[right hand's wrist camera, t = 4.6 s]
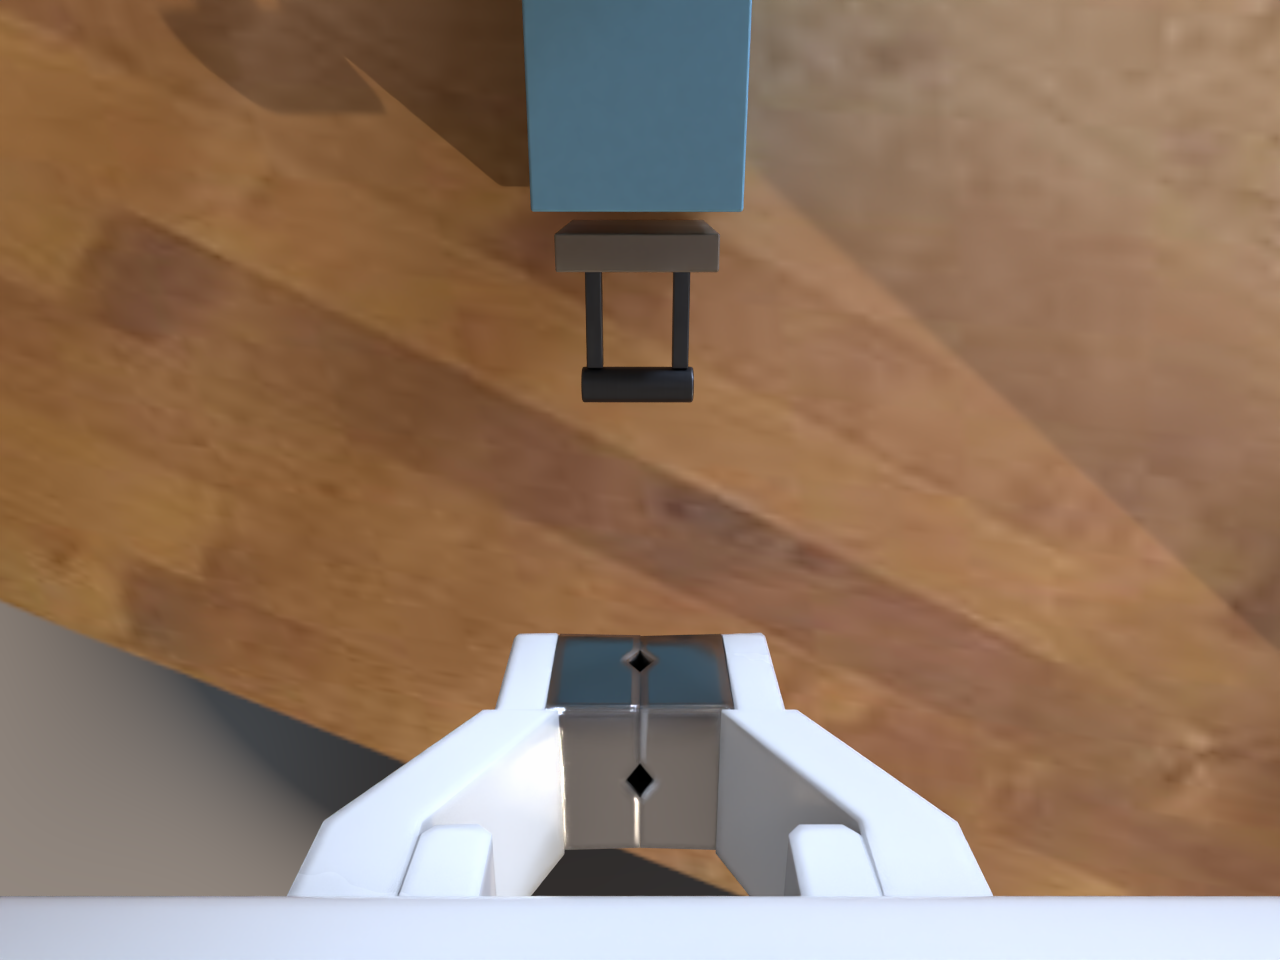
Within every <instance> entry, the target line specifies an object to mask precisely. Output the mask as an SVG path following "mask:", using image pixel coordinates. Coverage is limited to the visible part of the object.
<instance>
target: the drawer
mask: <svg viewBox="0 0 1280 960" xmlns="http://www.w3.org/2000/svg"><path fill="white" fill-rule="evenodd" d="M554 240H555V270H556V272H585V299H586V345H587V367H583V368H582V377H581V389H582V400H583V402H692V401H693V392H694V374H693V368H692V367H688V352H689V304H690V272H718V271H719V250H720V235H719V233H717V232H716V231H715V230H714V229H713V228H712V227H711V226H709V225H708V224H707V223H706V222H705V221H703V220H572V221H571V222H570V223H568V224H567V225H566V226H564V227H563V228H562V229H561V230H559V231H558V232H557V233H556V234H555V235H554ZM602 272H673V312H672V367H603V300H602Z"/></svg>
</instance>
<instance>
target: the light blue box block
mask: <svg viewBox="0 0 1280 960" xmlns="http://www.w3.org/2000/svg"><path fill="white" fill-rule="evenodd" d="M751 8H752V0H522V11H523V35H524V58H525V82H526V105H527V129H528V152H529V176H530V200H531V210H532V211H534V212H741V211H742V210H743V201H744V177H745V153H746V129H747V105H748V80H749V56H750V32H751Z"/></svg>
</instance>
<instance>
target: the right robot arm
mask: <svg viewBox="0 0 1280 960" xmlns="http://www.w3.org/2000/svg"><path fill="white" fill-rule="evenodd" d="M606 848H672V849H708V850H716V854H717V855H718V857H719V858H720V859H721V860H722V862H723V863H724V864H725V865H726V867H727V868H728V869H729V870H730V872H731V873H732V874H733V876H734V877H735V878H736V879H737V881H738V882H739V883H740V884H741V886H742V887H743V888H744V889H745V891H746V892H747V893H748V894H749V896H531V895H532V894H533V893H534V891H535V890H536V889H537V887H538V886H539V885H540V884H541V882H542V881H543V880H544V879H545V878H546V876H547V875H548V874H549V872H550V871H551V870H552V869H553V867H554V866H555V865H556V864H557V862H558V861H559V860H560V859H561V857H562V856H563V855H564V850H572V849H606ZM0 960H1280V896H993V894H992V892H991V890H990V888H989V886H988V884H987V882H986V880H985V878H984V876H983V874H982V872H981V870H980V868H979V866H978V863H977V861H976V859H975V857H974V855H973V853H972V851H971V849H970V847H969V845H968V843H967V841H966V839H965V837H964V835H963V833H962V830H961V828H960V826H959V824H958V822H957V821H955V820H954V819H952V818H951V817H949V816H948V815H947V814H945V813H944V812H942V811H941V810H939V809H938V808H936V807H935V806H934V805H932V804H931V803H929V802H928V801H926V800H925V799H924V798H922V797H921V796H919V795H918V794H916V793H915V792H914V791H912V790H911V789H909V788H908V787H906V786H905V785H904V784H902V783H901V782H899V781H898V780H896V779H895V778H894V777H892V776H891V775H889V774H888V773H886V772H885V771H884V770H882V769H881V768H879V767H878V766H876V765H875V764H874V763H872V762H871V761H869V760H868V759H866V758H865V757H864V756H862V755H861V754H859V753H858V752H856V751H855V750H854V749H852V748H851V747H849V746H848V745H846V744H845V743H844V742H842V741H841V740H839V739H838V738H836V737H835V736H834V735H832V734H831V733H829V732H828V731H826V730H825V729H824V728H822V727H821V726H819V725H818V724H816V723H815V722H814V721H812V720H811V719H809V718H808V717H806V716H805V715H804V714H802V713H801V712H799V711H798V710H785V707H784V704H783V700H782V697H781V693H780V689H779V686H778V682H777V678H776V675H775V671H774V667H773V664H772V660H771V656H770V653H769V649H768V646H767V642H766V638H765V636H764V635H763V634H762V633H744V634H704V635H663V636H640V635H596V634H560V635H558V634H557V633H534V634H518V635H517V636H516V637H515V638H514V641H513V645H512V648H511V652H510V656H509V659H508V663H507V667H506V670H505V674H504V678H503V682H502V685H501V689H500V693H499V696H498V700H497V704H496V707H495V710H482V711H481V712H479V713H478V714H477V715H475V716H474V717H472V718H471V719H469V720H468V721H466V722H465V723H464V724H462V725H461V726H459V727H458V728H456V729H455V730H454V731H452V732H451V733H449V734H448V735H446V736H445V737H443V738H442V739H441V740H439V741H438V742H436V743H435V744H433V745H432V746H431V747H429V748H428V749H426V750H425V751H423V752H422V753H420V754H419V755H418V756H416V757H415V758H413V759H412V760H410V761H409V762H408V763H406V764H405V765H403V766H402V767H400V768H399V769H398V770H396V771H395V772H393V773H392V774H390V775H389V776H387V777H386V778H385V779H383V780H382V781H380V782H379V783H377V784H376V785H374V786H373V787H372V788H370V789H369V790H367V791H366V792H364V793H363V794H362V795H360V796H359V797H357V798H356V799H354V800H353V801H352V802H350V803H349V804H347V805H346V806H344V807H343V808H341V809H340V810H339V811H337V812H336V813H334V814H333V815H331V816H330V817H329V818H327V819H326V820H324V821H323V823H322V825H321V827H320V829H319V831H318V833H317V835H316V838H315V839H314V842H313V844H312V846H311V848H310V850H309V852H308V854H307V856H306V858H305V860H304V862H303V864H302V866H301V868H300V870H299V872H298V874H297V876H296V878H295V880H294V882H293V884H292V886H291V888H290V890H289V892H288V894H287V896H0Z"/></svg>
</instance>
